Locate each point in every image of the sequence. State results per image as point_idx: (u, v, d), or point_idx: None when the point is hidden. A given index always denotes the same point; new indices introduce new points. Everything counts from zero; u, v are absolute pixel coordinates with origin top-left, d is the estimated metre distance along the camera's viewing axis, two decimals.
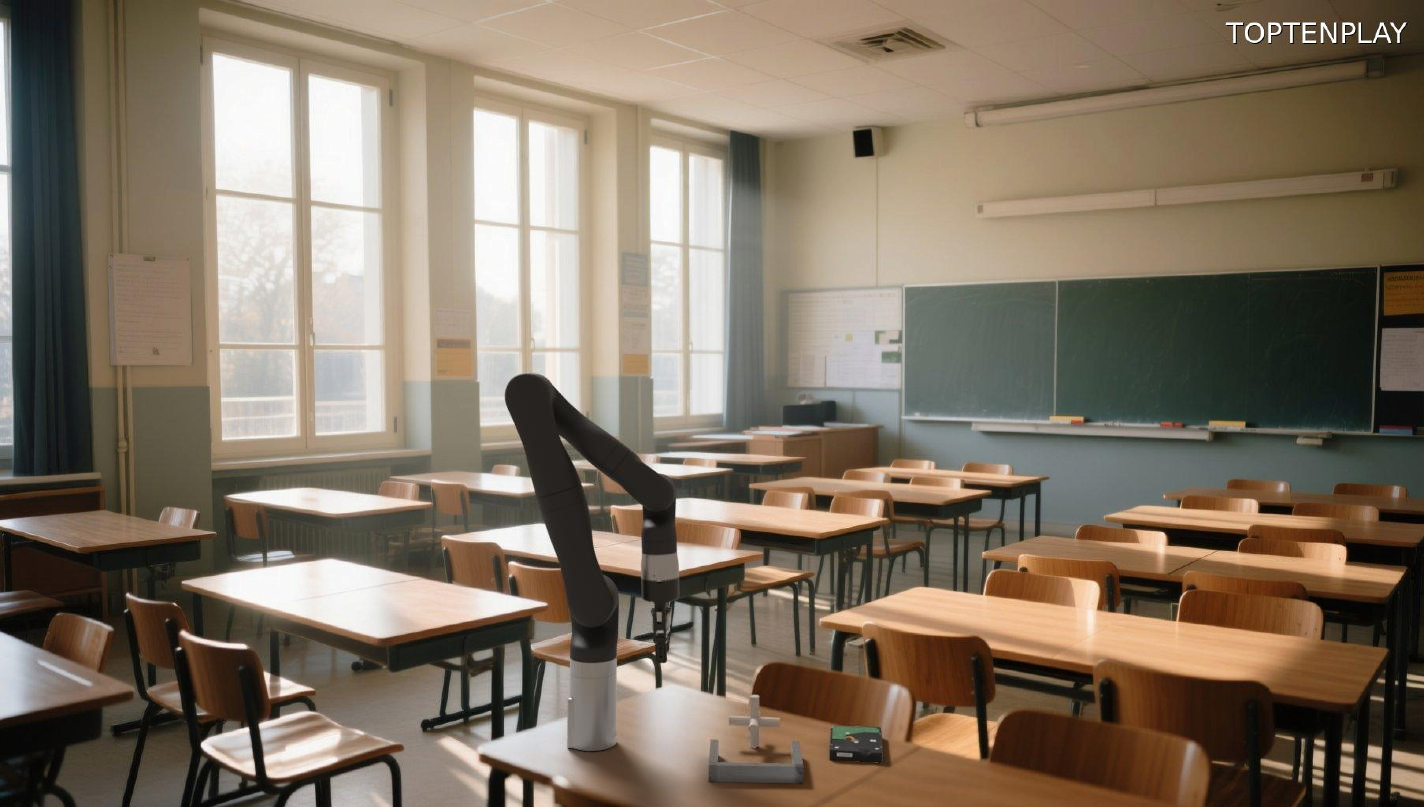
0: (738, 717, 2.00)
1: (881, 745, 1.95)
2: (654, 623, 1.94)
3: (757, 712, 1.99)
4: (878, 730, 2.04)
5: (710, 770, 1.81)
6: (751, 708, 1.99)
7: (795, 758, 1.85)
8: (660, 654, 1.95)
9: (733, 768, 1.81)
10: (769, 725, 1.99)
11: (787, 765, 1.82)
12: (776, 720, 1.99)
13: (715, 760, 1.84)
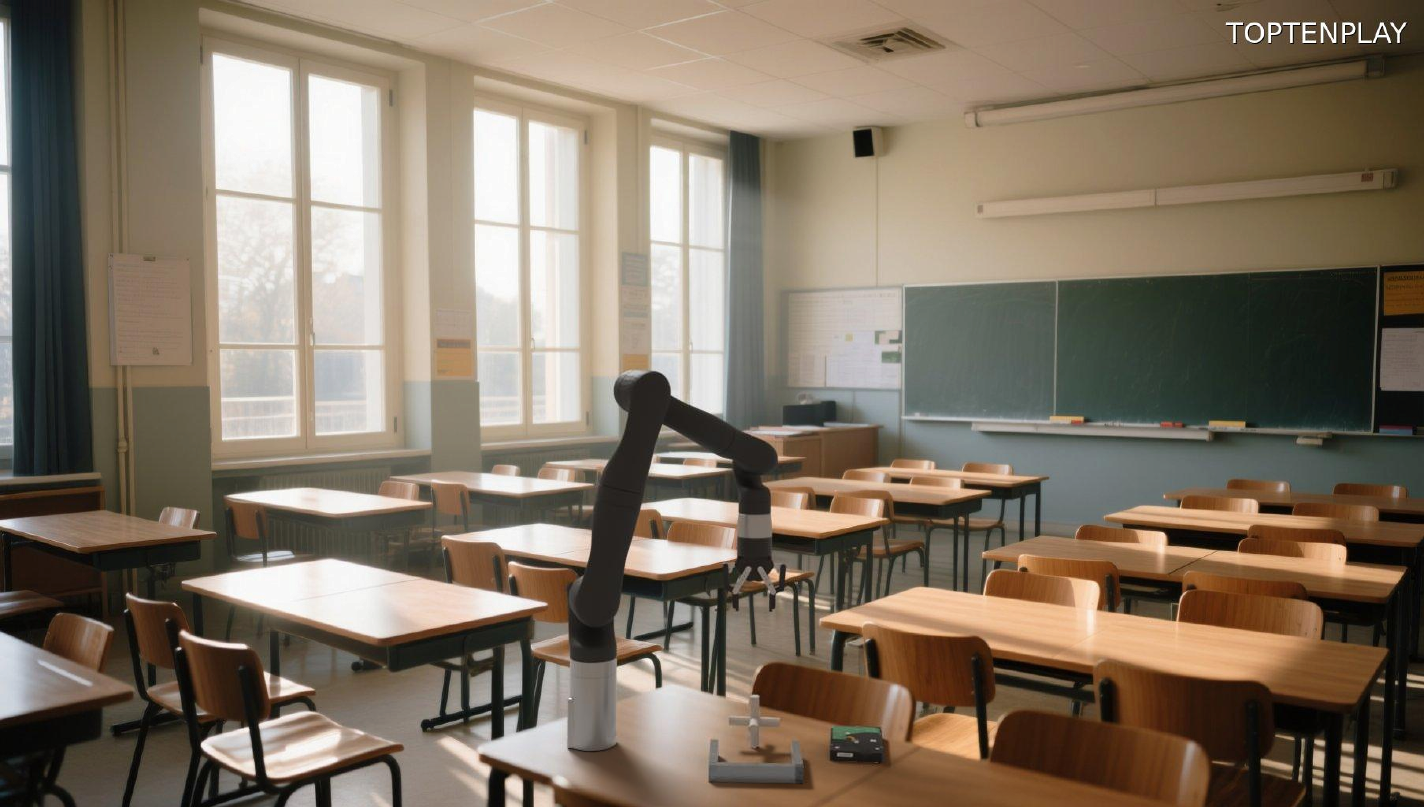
0: (738, 717, 2.00)
1: (881, 745, 1.95)
2: (785, 574, 2.17)
3: (757, 712, 1.99)
4: (878, 730, 2.04)
5: (710, 770, 1.81)
6: (751, 708, 1.99)
7: (795, 758, 1.85)
8: None
9: (733, 768, 1.81)
10: (769, 725, 1.99)
11: (787, 765, 1.82)
12: (776, 720, 1.99)
13: (715, 760, 1.84)
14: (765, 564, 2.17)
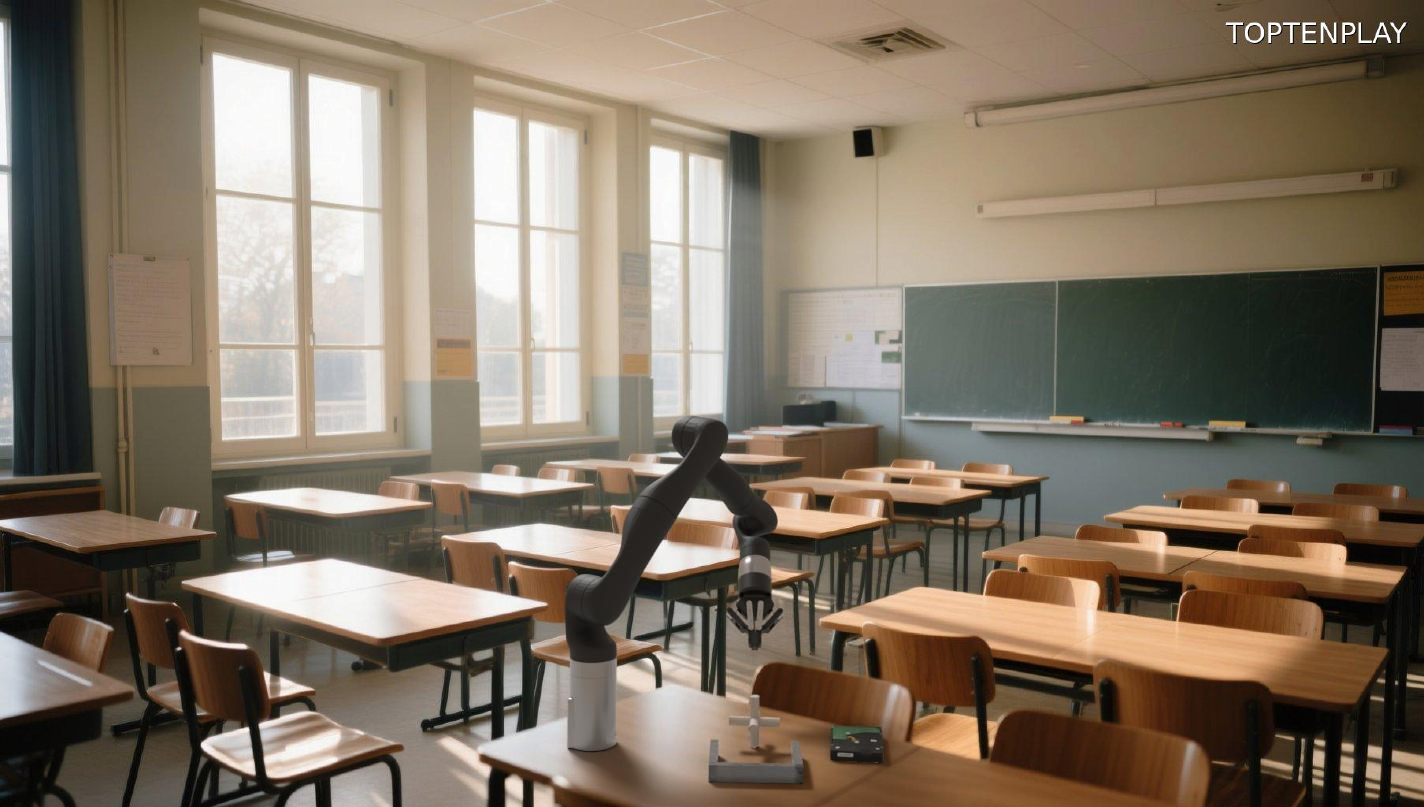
0: (738, 717, 2.00)
1: (882, 745, 1.95)
2: (778, 617, 2.20)
3: (757, 712, 1.99)
4: (878, 730, 2.04)
5: (710, 770, 1.81)
6: (751, 708, 1.99)
7: (795, 758, 1.85)
8: None
9: (733, 768, 1.81)
10: (769, 725, 1.99)
11: (787, 765, 1.82)
12: (776, 720, 1.99)
13: (715, 760, 1.84)
14: (766, 600, 2.23)
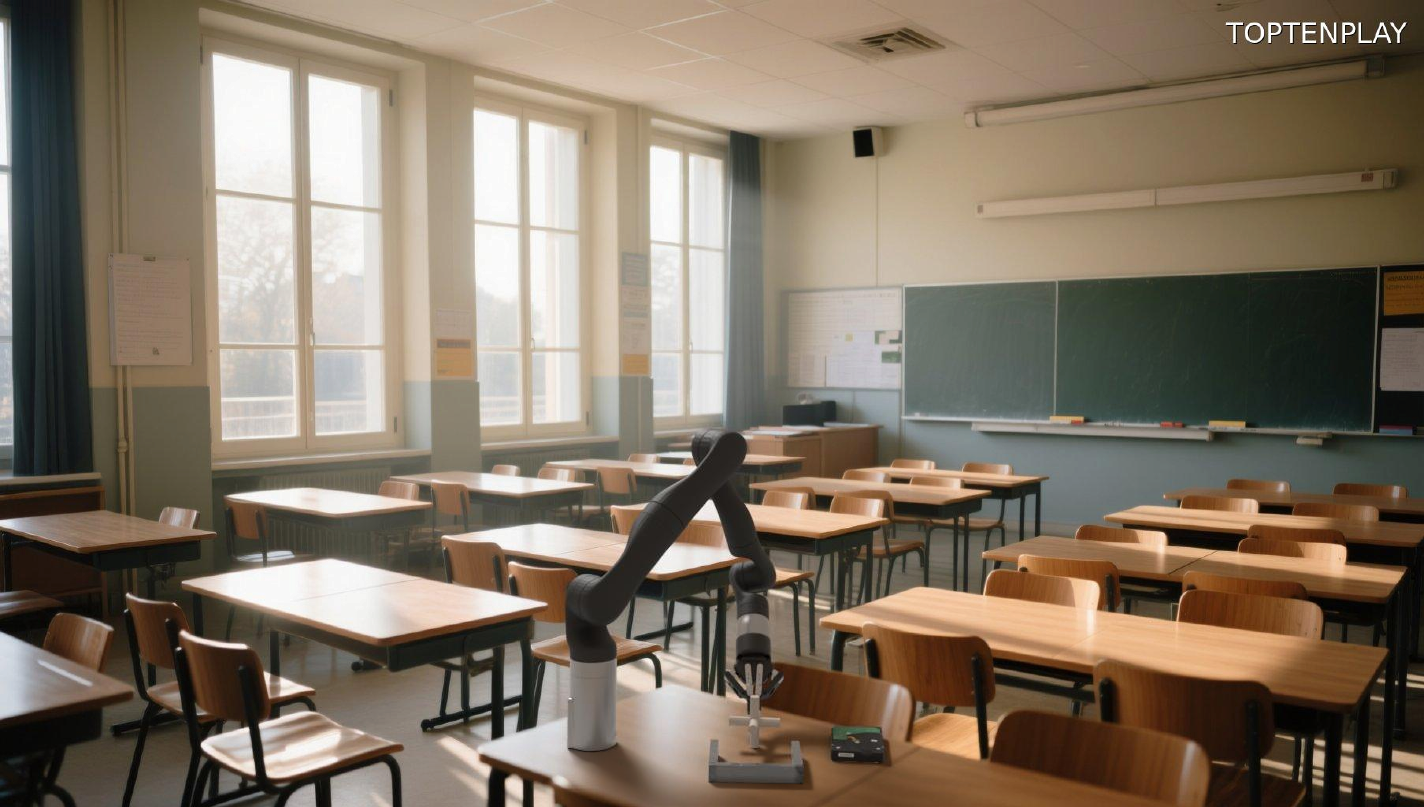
0: (738, 717, 1.99)
1: (882, 745, 1.95)
2: (778, 682, 2.09)
3: (757, 712, 1.99)
4: (879, 730, 2.04)
5: (710, 770, 1.81)
6: (751, 708, 1.99)
7: (795, 758, 1.85)
8: (760, 707, 2.06)
9: (733, 768, 1.81)
10: (769, 725, 1.98)
11: (787, 765, 1.82)
12: (776, 720, 1.98)
13: (715, 760, 1.84)
14: (766, 663, 2.12)
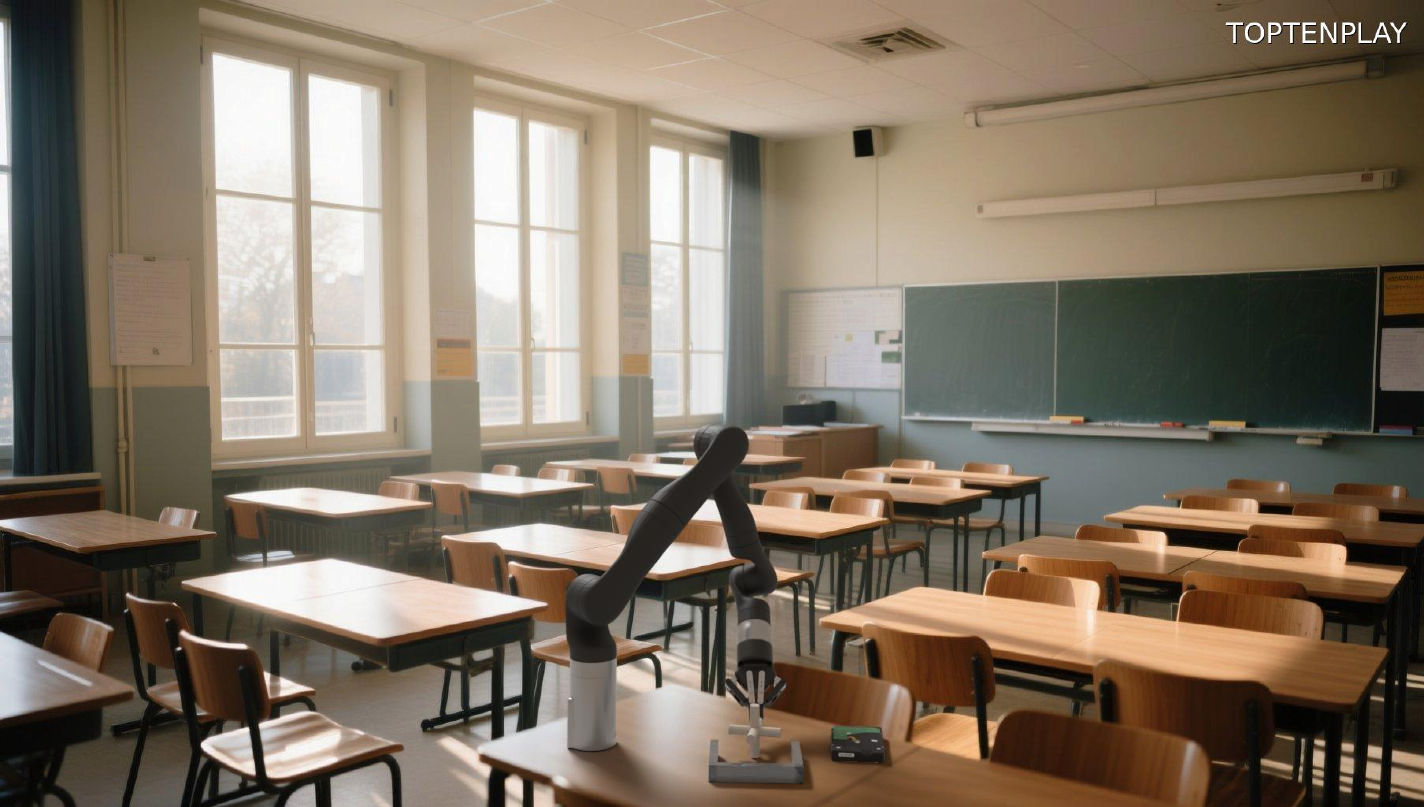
0: (738, 726, 1.94)
1: (883, 745, 1.95)
2: (781, 689, 2.04)
3: (757, 721, 1.93)
4: (879, 730, 2.04)
5: (710, 770, 1.81)
6: (751, 717, 1.93)
7: (795, 758, 1.85)
8: None
9: (733, 768, 1.81)
10: (769, 735, 1.93)
11: (787, 765, 1.82)
12: (776, 730, 1.92)
13: (715, 760, 1.84)
14: (768, 670, 2.07)
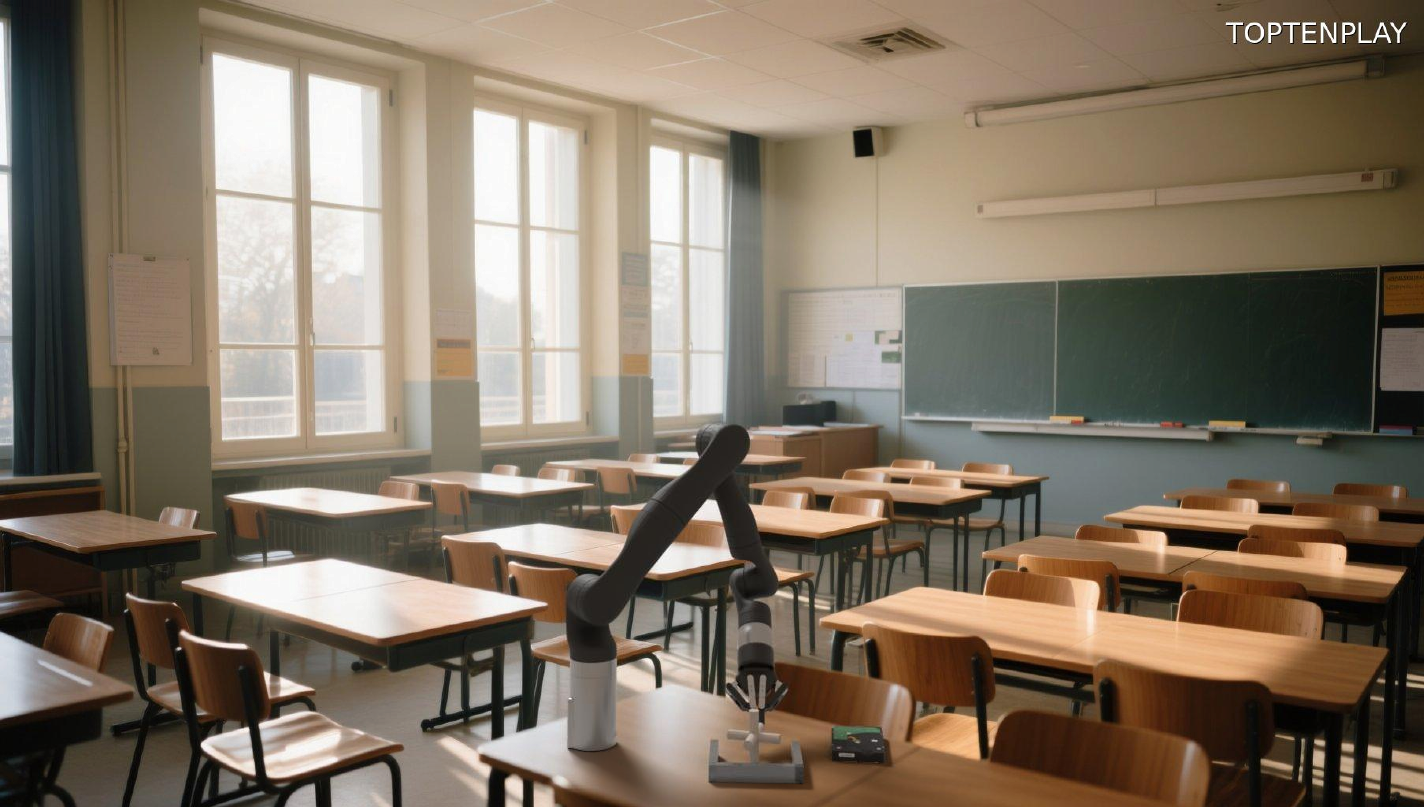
0: (737, 731, 1.91)
1: (883, 745, 1.95)
2: (782, 693, 2.01)
3: (756, 727, 1.90)
4: (879, 730, 2.04)
5: (710, 770, 1.81)
6: (750, 722, 1.90)
7: (795, 758, 1.85)
8: (764, 720, 1.98)
9: (733, 768, 1.81)
10: (768, 741, 1.89)
11: (787, 765, 1.82)
12: (775, 737, 1.89)
13: (715, 760, 1.84)
14: (769, 674, 2.03)
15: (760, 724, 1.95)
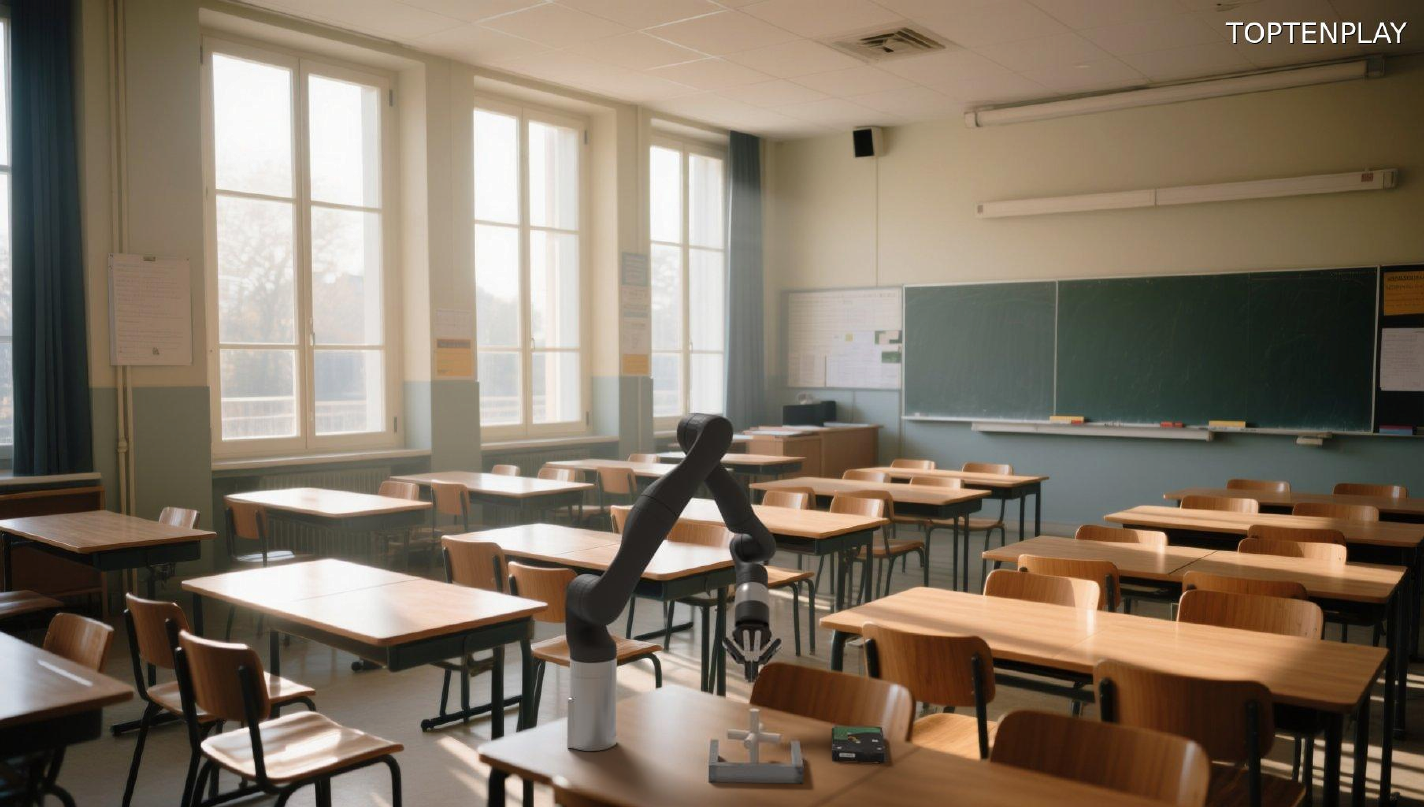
0: (737, 731, 1.91)
1: (883, 745, 1.95)
2: (776, 648, 2.11)
3: (756, 727, 1.90)
4: (879, 730, 2.04)
5: (710, 770, 1.81)
6: (750, 722, 1.90)
7: (795, 758, 1.85)
8: None
9: (733, 768, 1.81)
10: (768, 741, 1.89)
11: (787, 765, 1.82)
12: (775, 736, 1.89)
13: (715, 760, 1.84)
14: (764, 630, 2.14)
15: (760, 724, 1.95)
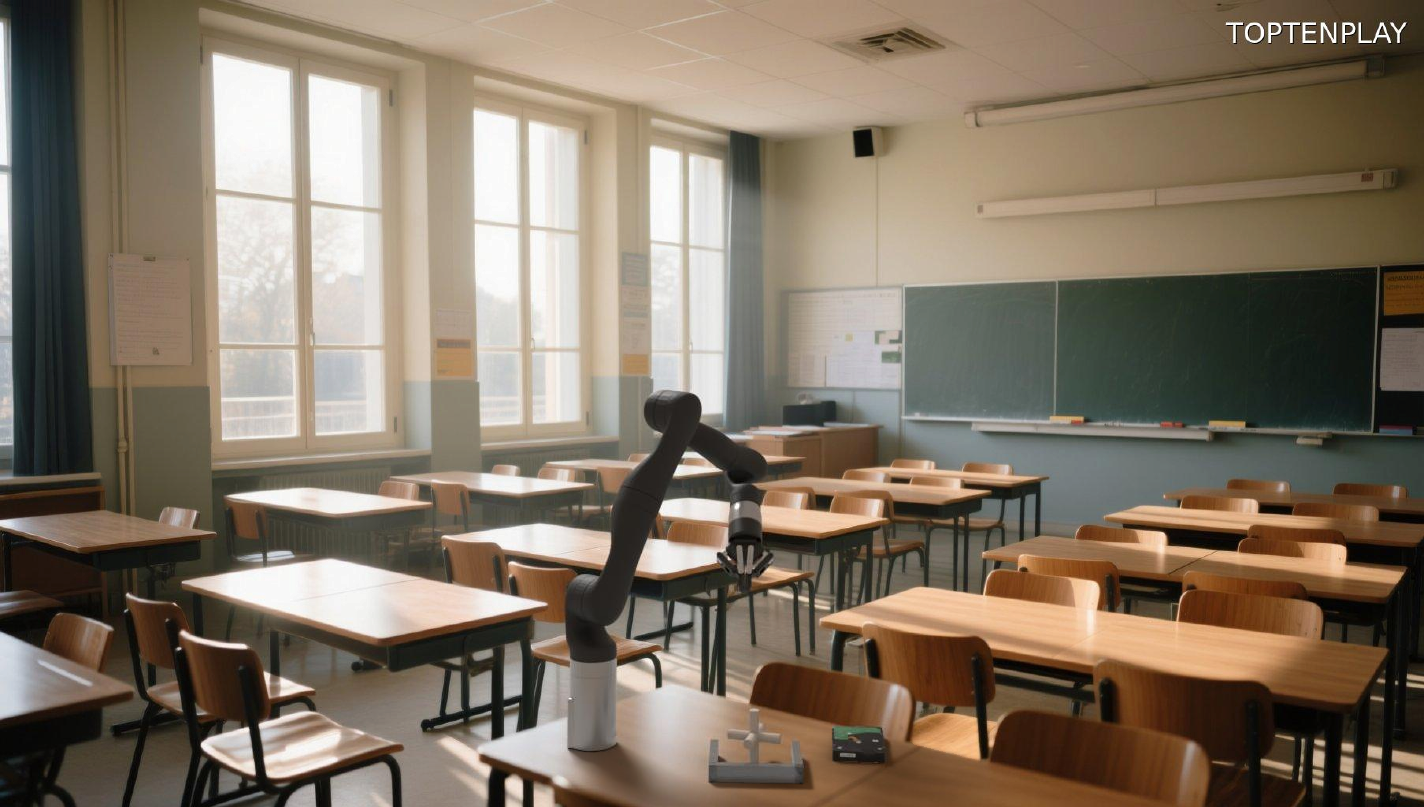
0: (737, 731, 1.92)
1: (884, 745, 1.95)
2: (768, 561, 2.18)
3: (756, 727, 1.90)
4: (879, 730, 2.04)
5: (710, 770, 1.81)
6: (750, 722, 1.90)
7: (795, 758, 1.85)
8: None
9: (733, 768, 1.81)
10: (768, 741, 1.89)
11: (787, 765, 1.82)
12: (775, 736, 1.89)
13: (715, 760, 1.84)
14: (757, 545, 2.20)
15: (760, 724, 1.95)
